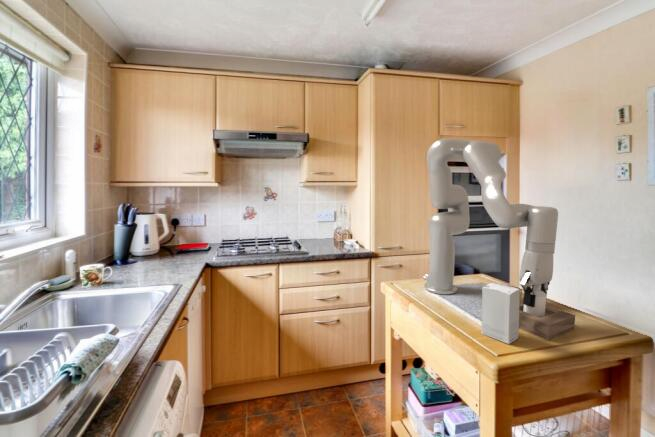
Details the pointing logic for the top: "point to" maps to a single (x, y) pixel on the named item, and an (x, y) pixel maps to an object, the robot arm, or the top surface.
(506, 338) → the skincare box
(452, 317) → the top surface
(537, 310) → the eye dropper bottle
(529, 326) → the dropper stand
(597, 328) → the top surface
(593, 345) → the top surface
